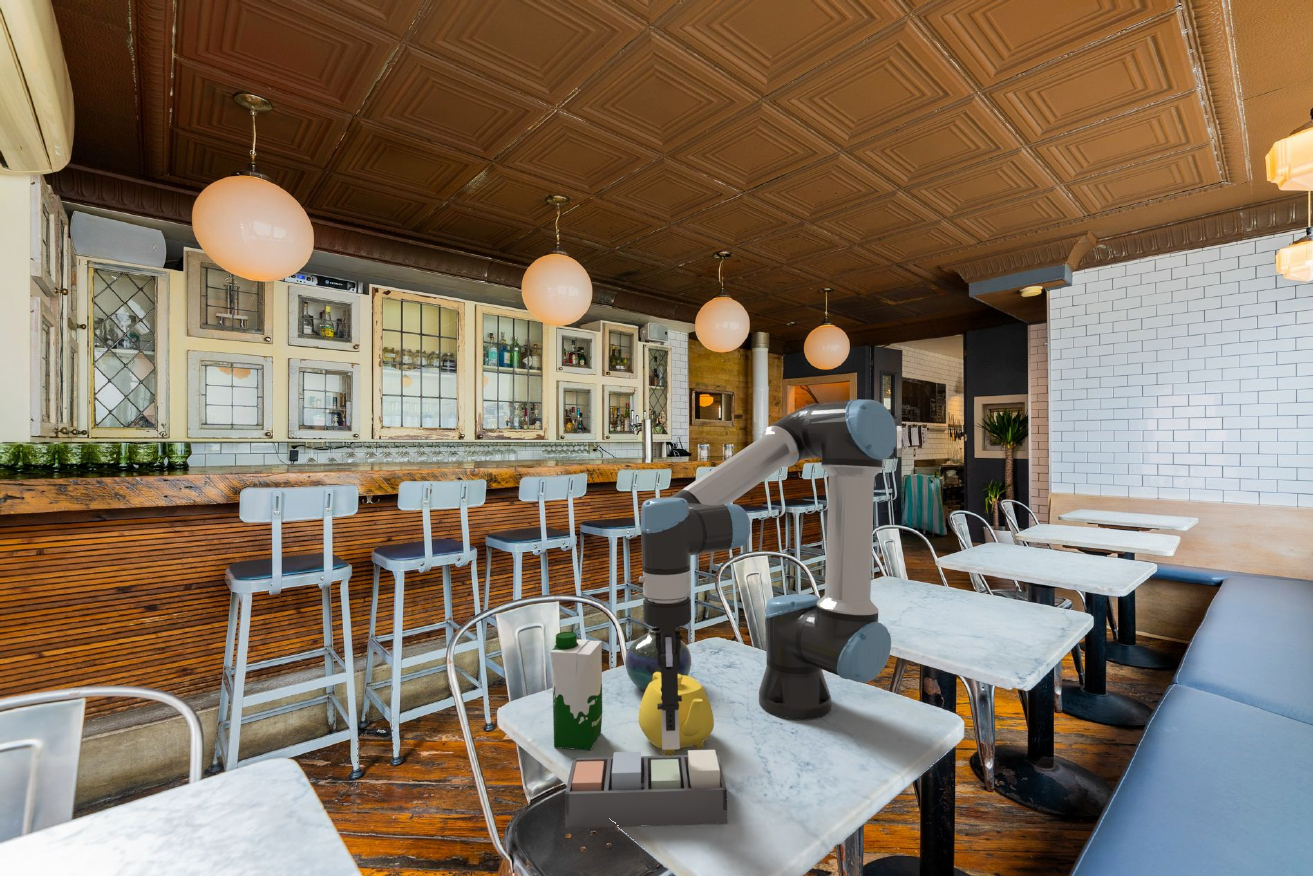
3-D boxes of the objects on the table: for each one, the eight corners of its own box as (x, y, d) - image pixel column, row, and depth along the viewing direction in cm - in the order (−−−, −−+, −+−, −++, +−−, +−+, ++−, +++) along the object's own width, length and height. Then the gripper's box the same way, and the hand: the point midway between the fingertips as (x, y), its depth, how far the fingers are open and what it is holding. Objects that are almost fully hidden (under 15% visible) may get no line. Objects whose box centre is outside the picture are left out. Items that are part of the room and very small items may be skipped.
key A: (715, 768, 95) (715, 749, 95) (720, 790, 89) (719, 770, 89) (688, 769, 95) (687, 750, 95) (691, 791, 89) (690, 771, 89)
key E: (604, 779, 95) (603, 761, 95) (601, 802, 89) (601, 782, 89) (576, 780, 95) (576, 761, 95) (572, 803, 89) (572, 783, 89)
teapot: (668, 779, 99) (667, 705, 100) (625, 727, 118) (624, 665, 118) (736, 760, 105) (735, 690, 105) (685, 714, 123) (684, 654, 123)
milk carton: (564, 727, 118) (562, 627, 118) (607, 731, 116) (606, 629, 116) (547, 749, 109) (545, 641, 110) (594, 754, 108) (592, 644, 108)
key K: (641, 770, 95) (640, 751, 95) (641, 792, 89) (640, 772, 89) (614, 771, 95) (613, 752, 95) (611, 793, 89) (611, 773, 89)
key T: (678, 777, 95) (678, 759, 95) (680, 800, 89) (680, 780, 89) (651, 778, 95) (650, 759, 95) (651, 801, 89) (651, 781, 89)
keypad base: (719, 784, 97) (718, 754, 97) (727, 823, 87) (727, 789, 87) (573, 788, 97) (573, 758, 97) (565, 828, 87) (564, 794, 87)
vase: (693, 700, 129) (692, 640, 130) (623, 701, 130) (622, 640, 130) (690, 673, 145) (689, 619, 145) (627, 674, 145) (627, 619, 145)
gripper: (643, 587, 99) (647, 727, 99) (642, 609, 86) (646, 771, 86) (688, 585, 99) (692, 726, 99) (693, 608, 86) (697, 769, 86)
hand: (670, 746), depth 93 cm, fingers closed
